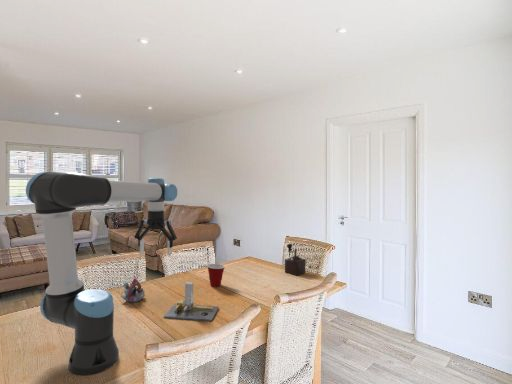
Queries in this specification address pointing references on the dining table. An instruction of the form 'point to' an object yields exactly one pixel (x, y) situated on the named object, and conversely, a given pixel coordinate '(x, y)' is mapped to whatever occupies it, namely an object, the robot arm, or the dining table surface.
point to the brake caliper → (133, 292)
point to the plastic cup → (215, 274)
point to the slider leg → (188, 296)
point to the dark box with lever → (294, 264)
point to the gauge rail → (181, 306)
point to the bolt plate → (192, 314)
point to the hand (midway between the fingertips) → (155, 253)
